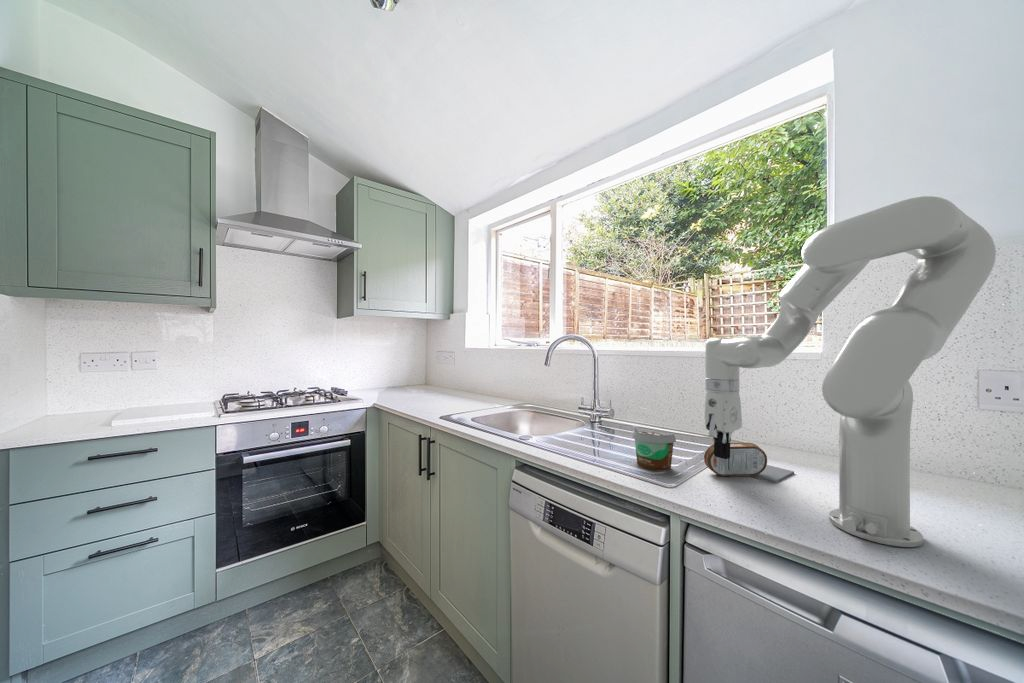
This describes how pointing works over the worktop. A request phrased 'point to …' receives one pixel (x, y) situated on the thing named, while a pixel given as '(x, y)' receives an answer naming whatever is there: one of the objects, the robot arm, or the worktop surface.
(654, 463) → the food container
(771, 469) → the mat
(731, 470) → the tin
